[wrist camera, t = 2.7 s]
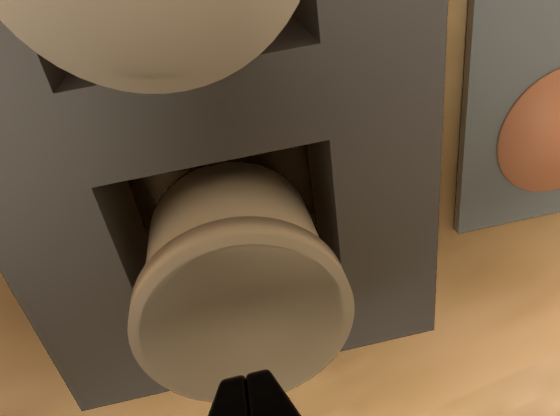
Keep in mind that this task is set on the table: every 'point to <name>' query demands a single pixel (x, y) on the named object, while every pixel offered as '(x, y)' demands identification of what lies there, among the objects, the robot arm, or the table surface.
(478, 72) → the pattern card
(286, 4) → the middle button
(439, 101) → the button panel
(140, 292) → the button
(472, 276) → the table surface
